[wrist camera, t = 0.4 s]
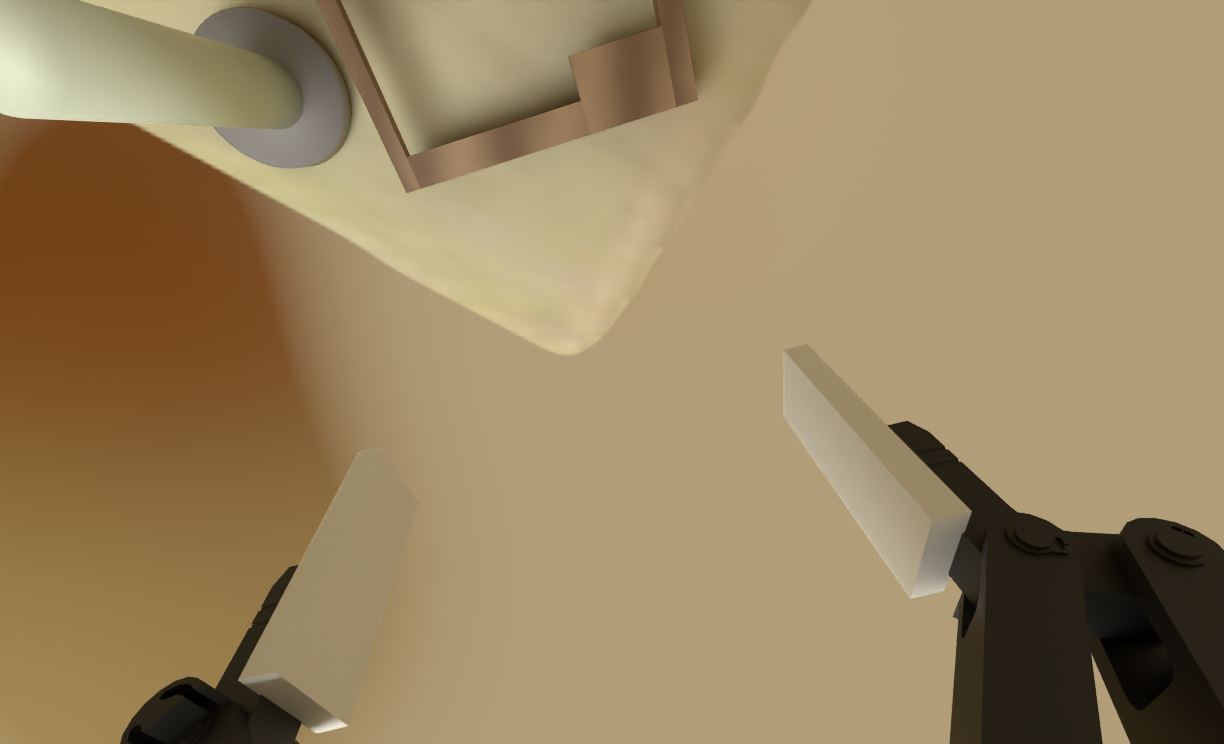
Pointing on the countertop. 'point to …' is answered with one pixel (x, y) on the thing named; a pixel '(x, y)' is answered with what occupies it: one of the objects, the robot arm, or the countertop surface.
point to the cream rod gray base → (177, 76)
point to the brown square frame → (609, 96)
